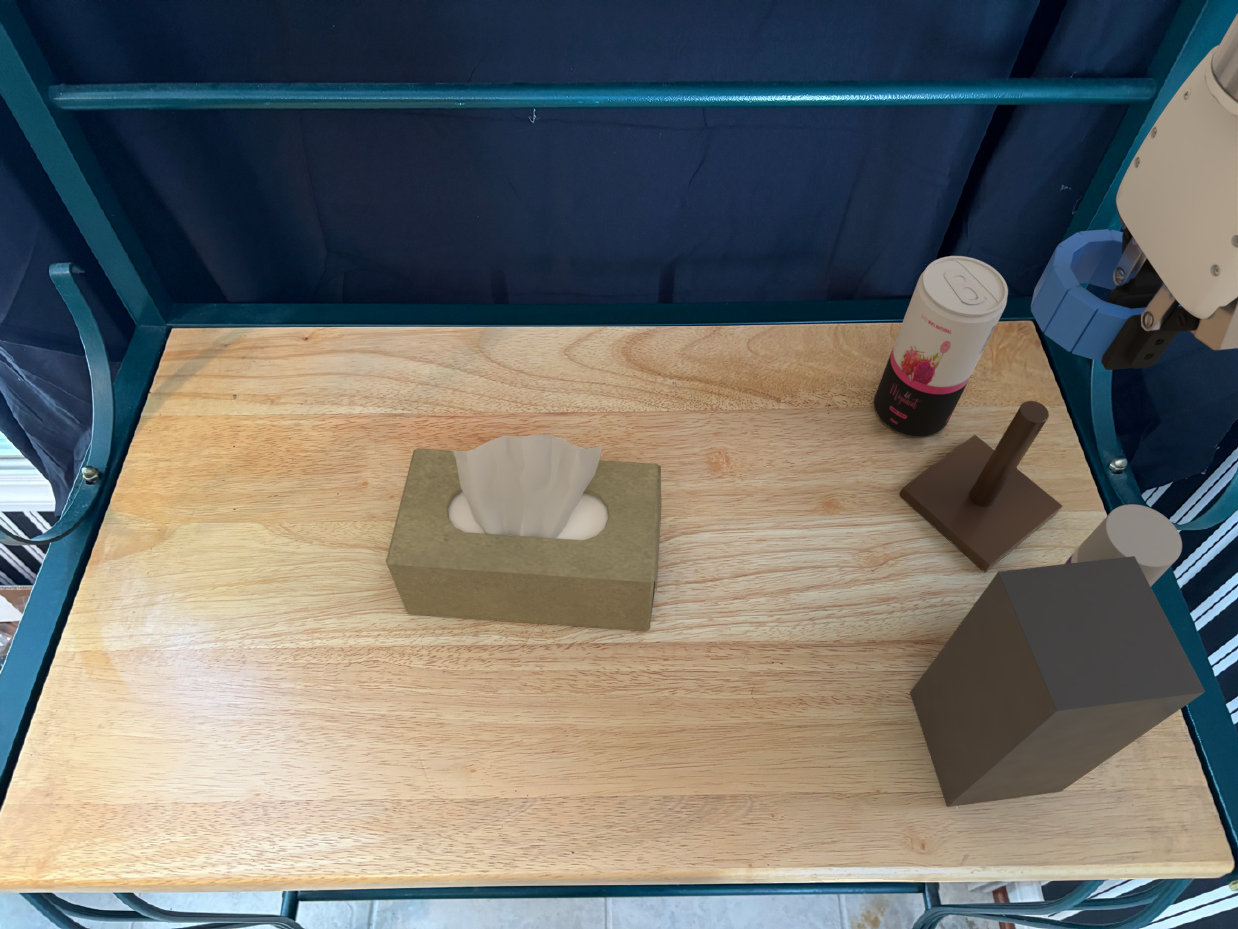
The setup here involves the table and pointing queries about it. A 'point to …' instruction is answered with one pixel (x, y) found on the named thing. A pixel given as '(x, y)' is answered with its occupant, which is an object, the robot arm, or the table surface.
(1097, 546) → the container
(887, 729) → the table surface
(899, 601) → the table surface
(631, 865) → the table surface
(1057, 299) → the ring
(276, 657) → the table surface
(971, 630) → the pedestal
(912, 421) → the beverage can
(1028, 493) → the stand
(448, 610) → the tissue box
